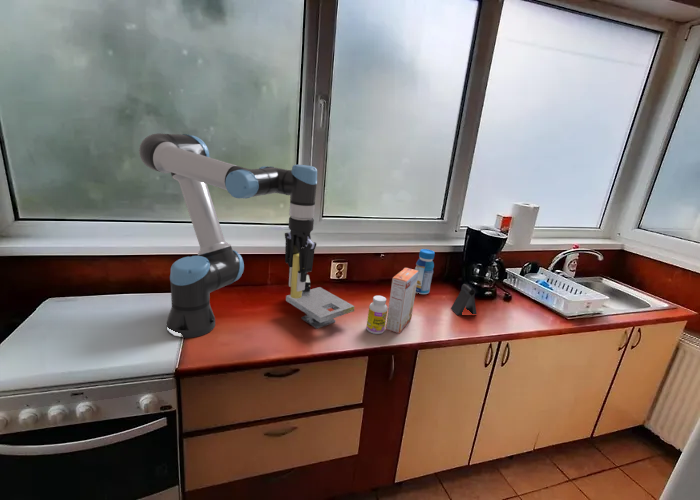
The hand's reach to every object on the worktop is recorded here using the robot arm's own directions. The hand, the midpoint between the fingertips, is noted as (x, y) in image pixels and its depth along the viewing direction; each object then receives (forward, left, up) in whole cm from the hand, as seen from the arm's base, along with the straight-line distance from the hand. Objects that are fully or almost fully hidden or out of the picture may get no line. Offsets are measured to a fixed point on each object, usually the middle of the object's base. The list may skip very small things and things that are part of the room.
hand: (296, 287), depth 122 cm
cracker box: (+39, -14, -19) cm, 45 cm away
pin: (0, 0, -3) cm, 3 cm away
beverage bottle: (+74, +1, -19) cm, 76 cm away
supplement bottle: (+28, -12, -19) cm, 36 cm away
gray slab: (+15, +5, -18) cm, 24 cm away
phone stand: (+72, -23, -19) cm, 78 cm away
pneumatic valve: (+18, +20, -19) cm, 33 cm away
